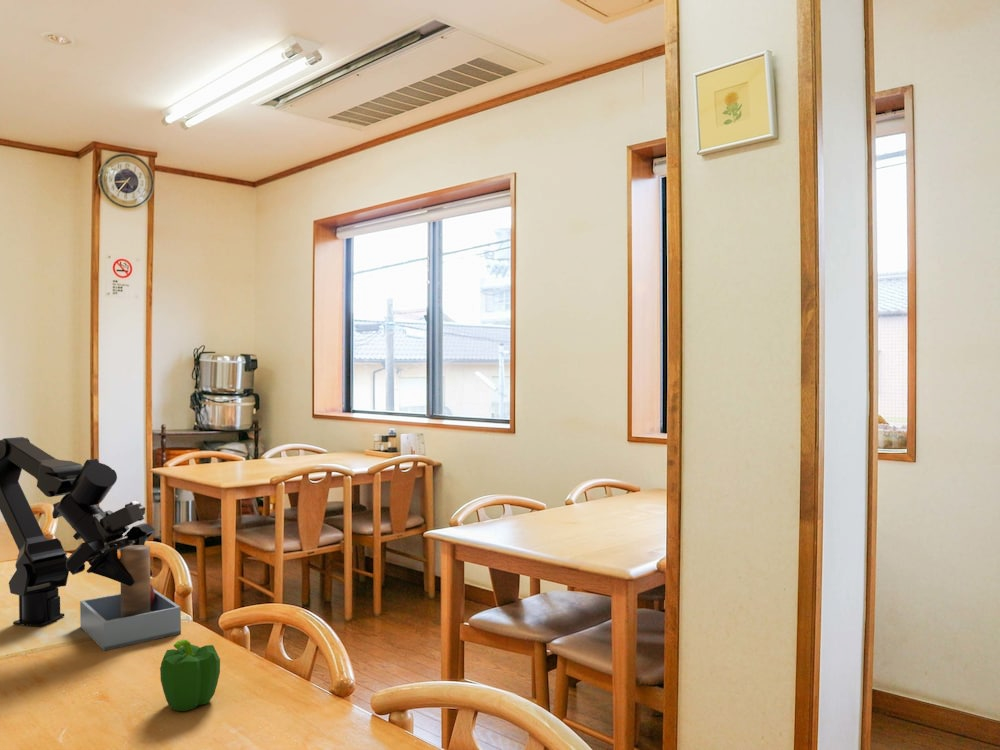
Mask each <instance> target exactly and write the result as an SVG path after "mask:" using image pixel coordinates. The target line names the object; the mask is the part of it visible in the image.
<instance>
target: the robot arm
mask: <svg viewBox="0 0 1000 750" xmlns="http://www.w3.org/2000/svg"><path fill="white" fill-rule="evenodd" d="M22 471H24V472H26V473H27V474H29V475H30V476H32V477H33V478H35V480H36V487H37V488H38V489H39V491H40V492H41V493H42V494H44V496H46V497H47V498H53V497H59V496H62V498H61V499H60V501H58V502H56V503H53V505H52V506H53V511H52V519H54V520H56V519H58V518H61V517H62V518H63V519H64V520H65V521H66V522H67V523H68V525H70V527H71V528H72V529H73V531H74V532H75V533H74V535H73V536H72V538H74V539H75V541H78V540H81V539H82V540H83V542H81V543H80V544H79V545H78V547H77V548H76V549H75V550H74V551H73V552H72V553H71V555H69V556H67V555H68V553H67V551H66V550H65V549H64V547H63V545H62V542H61V540H59V539H58V538H57V537H56V538H52V539H51V538H50V539H49V538H47V537H46V536H45V534H44V532H43V530H42V528H41V526H40V523H39V522H38V520H37V517H36V515H35V514H34V512H33V511H34V510H33V509H32V507H31V505H30V503H29V501H28V499H27V497H26V494H25V493H24V491H23V489H22V486H21V484H20V482H19V480H20V477H21V474H22ZM117 479H118V475H117V472H116V471H115V469H112V467H111V466H109V465H107V464H105V463H101V462H100V461H99V460H98V458H91V459H86V460H85V462H84V463H83V465H82V464H81V463H79V462H75V461H72V460H63V459H57V458H55V457H54V456H53V455H51V454H49V453H48V452H46V451H44V450H43V449H41V448H39V447H38V446H36V445H35V444H33V443H31V440H30V439H29V438H28V437H23V436H18V437H17V436H15V437H5V438H2V439H0V513H1V515H2V517H3V519H4V521H5V523H6V526H7V527H8V530H9V532H10V534H11V536H12V538H13V541H14V544H15V545H16V547H17V549H18V554H17V558H16V561H15V565H14V566H15V568H16V570H15V572H14V573H13V574H12V576H11V577H10V580H9V581H8V587H9V592H10V594H13V595H16V596H18V615H19V617H18V619H17V620H14V621H13V622H12V625H13V624H14V626H15V625H16V626H32V627H33V626H35V627H42V626H44V625H48V624H49V623H52V622H55V621H56V620H58V619H61V618H63V617H65V613H63V612H62V613H61V596H60V595H59V588H60V587H66V586H67V584H68V583H67V582H68V578H69V575H70V574H71V575H72V576H74V575H76V574H80V573H82V572H84V570H85V569H86V564H85V563H87V561H88V565H90V566H89V568H88V569H87V570H86V573H88V574H91V573H92V574H95V575H98V576H101V577H103V578H108V579H110V580H113V581H115V582H118V583H120V584H121V583H123V584H126V585H128V586H132V585H133V584H134V583H135V581H134V579H133V578H132V576H131V575H130V573H129V572H128V571H127V569H126V568H125V567H124V565H123V564H122V563H121V561H120V558H119V556H118V553H119V552H120V549H121V548H123V547H127V546H133V545H146V544H145V543H146V542H147V541H148V540H149V538H151V536H153V534H154V533H155V532H156V529H155V528H154V527H153V526H152V525H151V524H150V523H145V522H144V523H140V524H137V525H134V526H132V527H131V528H130V527H129V526H130V525H132V524H134V523H136V522H138V521H139V522H140V521H143V520H144V519H145V517H144V515H145V513H146V507H145V506H144V505H142V504H141V503H140V502H139V501H138V500H134V501H133V500H132V501H130V503H126V504H125V506H124V507H121V508H120V509H118V510H116V511H114V512H113V511H112V510H106V511H104V510H103V509H102V508H101V507H100V505H99V504H101V503H103V501H104V499H105V498H106V496H107V495H108V494H109V492H110V490H111V489H112V488H113V486H114V485H115V483H116V482H117ZM127 531H128V532H127ZM125 533H126V534H125ZM69 573H70V574H69ZM152 576H153V571H152V568H151V567H150V578H151V577H152Z"/></svg>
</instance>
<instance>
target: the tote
mask: <svg viewBox="0 0 1000 750" xmlns="http://www.w3.org/2000/svg"><path fill="white" fill-rule="evenodd" d="M153 590H154V594H155V599H154V602H153V604H152V606H151V607H150V612H149V613H144V614H139V615H134V616H129V617H124V618H121V593H117V594H112V595H111V594H110V595H105V596H99V597H95V598H90V599H84V600H80V601H79V605H80V607H79V608H80V609H79V612H80V613H79V614H80V615H79V616H80V621H79V623H80V628H81V629H82V630H83V631H84V632H85V633H86V634H87V635H88V636H89V637H90V638H91V639H92V640H93V641H94V642H95V643H96V644H97V645H98V646H99V647H100V648H101V650H103V651H110V650H114V649H118V648H123V647H129V646H133V645H136V644H141V643H145V642H149V641H154V640H159V639H164V638H167V637H172V636H173V637H174V636H177V635H182V617H181V616H182V614H181V613H182V612H181V606H180V605H178V604H177V603H175V602H173V601H172V600H171V599H169V598H168V597H166V596H165V595H163V593H160V592H159V591H157V590H156V589H154V588H153Z"/></svg>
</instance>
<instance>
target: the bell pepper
mask: <svg viewBox="0 0 1000 750" xmlns="http://www.w3.org/2000/svg"><path fill="white" fill-rule="evenodd" d="M173 647H174V648H175V649H174V648H173V649H166V651H165V652H164V655H163V658H162V661H161V663H160V668H159V669H160V671H159V672H160V676H159V677H160V683H161V687H162V690H163V694H164V697H165V700H166V702H167V705H168V706H169V708H170V709H171V710H174V711H176V712H186V711H187V712H188V711H189V710H193V709H195V708H197V706H200V705H207V704H209V702H210V701H211V699H213V697H214V695H215V693H216V689H217V686H218V682H219V678H220V674H221V658H220V655H218V651H217V649H216V648H215V646H214V644H210V645H204V646H202V647H199V645H194V644H191V642H190V640H187V639H180V640H178V641H176V642H175V643H174V645H173Z"/></svg>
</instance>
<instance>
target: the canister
mask: <svg viewBox="0 0 1000 750" xmlns="http://www.w3.org/2000/svg"><path fill="white" fill-rule="evenodd" d="M119 552H120V557H119V559H120V561H121V563H122V564H123V565H124V567H125V568H126V569H127V571H128V572H129V573H130V575H131V576H132V578H133V579H134V581H135V583H134V584H133V585H132V586H128V585H126V584H123V583H120V594H121V618H124V617H129V616H134V615H139V614H144V613H149V612H150V584H151V577H150V568H151V546H149V545H147V544H144V545H133V546H127V547H123V548H121V549H120V551H119Z"/></svg>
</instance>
